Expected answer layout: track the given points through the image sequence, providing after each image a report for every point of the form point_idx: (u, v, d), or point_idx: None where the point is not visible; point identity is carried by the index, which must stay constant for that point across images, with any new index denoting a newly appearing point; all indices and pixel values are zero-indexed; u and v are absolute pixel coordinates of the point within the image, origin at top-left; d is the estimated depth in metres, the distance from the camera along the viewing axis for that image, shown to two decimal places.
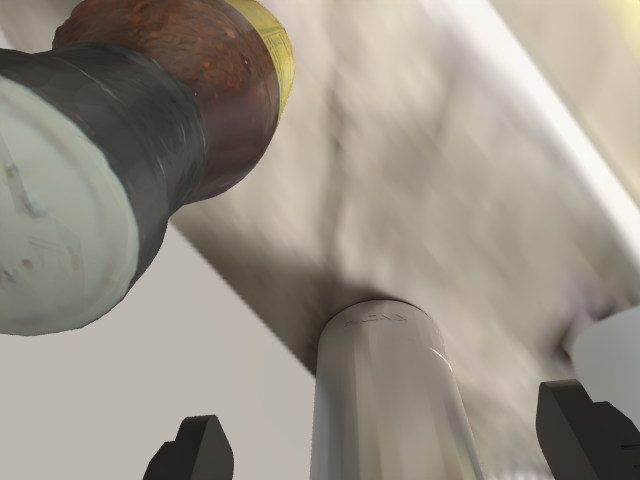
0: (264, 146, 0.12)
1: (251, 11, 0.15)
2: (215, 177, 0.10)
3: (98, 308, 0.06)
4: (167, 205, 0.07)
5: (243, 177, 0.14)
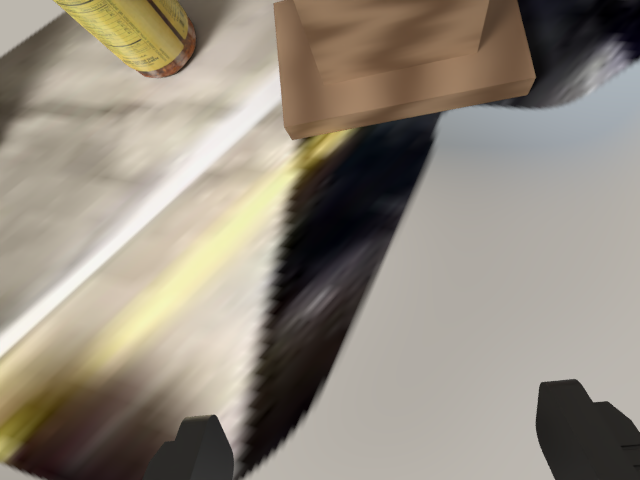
0: None
1: None
2: None
3: None
4: None
5: None
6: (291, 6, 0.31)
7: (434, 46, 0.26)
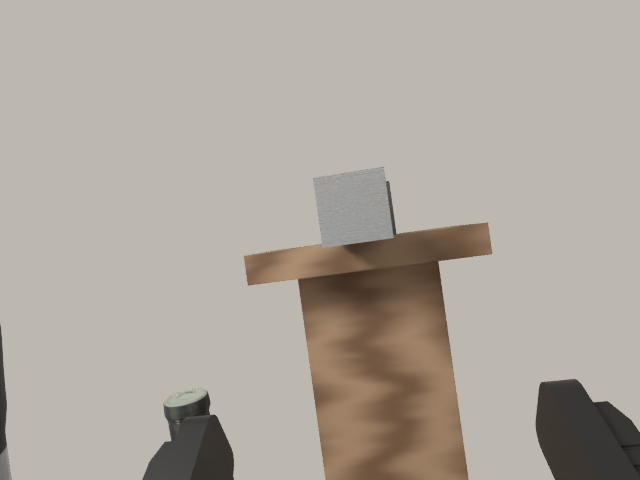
0: None
1: None
2: None
3: (165, 402, 0.39)
4: (172, 418, 0.38)
5: None
6: None
7: None
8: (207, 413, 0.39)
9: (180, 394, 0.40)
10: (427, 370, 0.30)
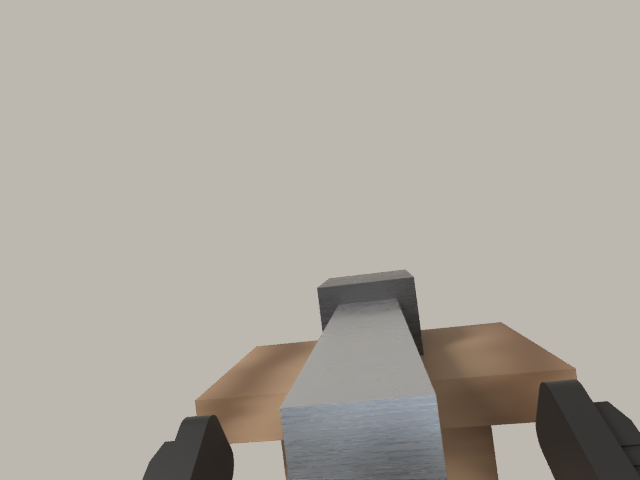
0: None
1: None
2: None
3: None
4: None
5: None
6: None
7: None
8: None
9: None
10: None
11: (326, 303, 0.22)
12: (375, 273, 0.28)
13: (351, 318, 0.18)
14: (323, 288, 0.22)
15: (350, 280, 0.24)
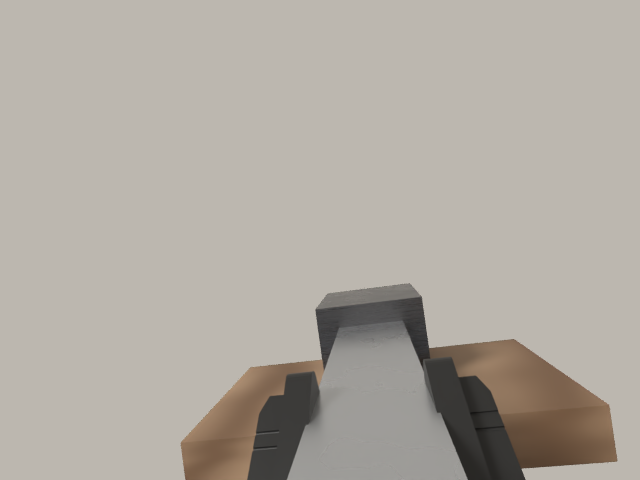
0: None
1: None
2: None
3: None
4: None
5: None
6: None
7: None
8: None
9: None
10: None
11: (326, 326, 0.20)
12: (377, 287, 0.26)
13: (355, 351, 0.16)
14: (322, 310, 0.20)
15: (351, 298, 0.22)
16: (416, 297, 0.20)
